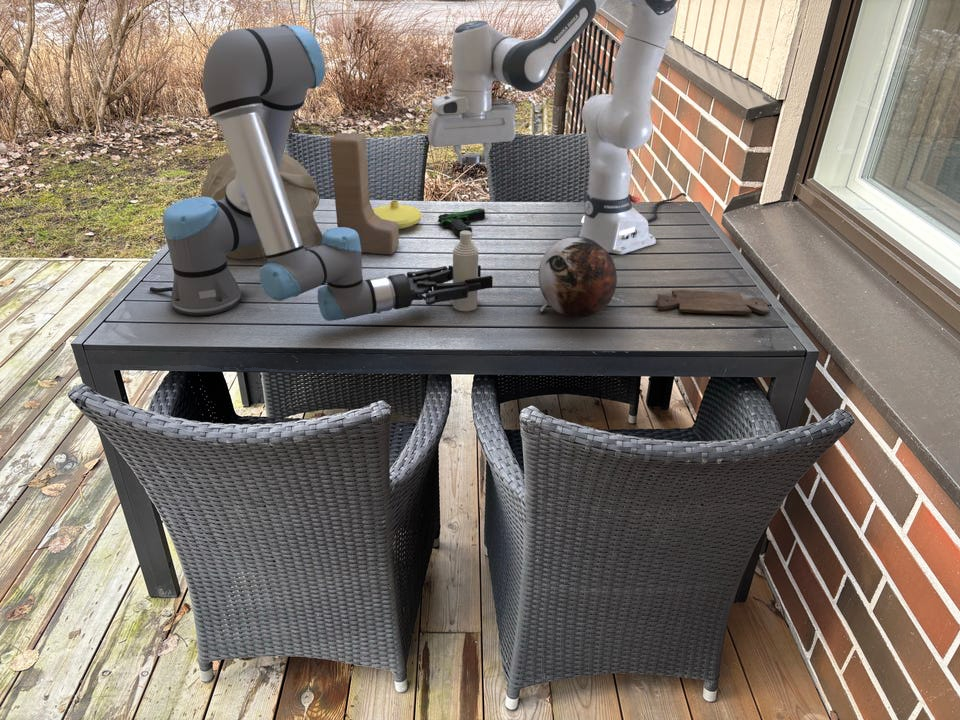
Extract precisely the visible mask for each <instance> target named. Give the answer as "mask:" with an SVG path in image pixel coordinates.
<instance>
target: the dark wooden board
mask: <svg viewBox="0 0 960 720" xmlns="http://www.w3.org/2000/svg"><path fill="white" fill-rule="evenodd" d="M671 295H672V296H669V295H666V294H661V293H660V294H659V293H658V294H657V298H656V299H657V300H656V302H657V310H658V311H667V310H671V309H675V308H678V312H681V313H694V314H718V315H719V314H721V315H740V316H741V315H752V312H754V313H756V314H760V315H769V314H771V310H770V308H769V307H768V305H767V303H766V301H765V299H764V298H762V297H749V298H745V299H743V296H742V293H741V292H739V291H738V292H736V291H735V292H734V291H709V290H689V289H687V290H686V289H672V290H671Z"/></svg>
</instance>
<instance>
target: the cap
mask: <svg viewBox="0 0 960 720" xmlns="http://www.w3.org/2000/svg"><path fill="white" fill-rule="evenodd" d="M480 154H481V153H477V152H468V153H464V155H465V156H466V165H467V164H469V165H478V164H480V162H481V157H480Z"/></svg>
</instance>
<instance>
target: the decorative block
mask: <svg viewBox="0 0 960 720" xmlns="http://www.w3.org/2000/svg"><path fill="white" fill-rule="evenodd" d="M366 139H367V138H366V135H365V134H364V133H353V132H352V133H351V132H350V133H348V132H347V133H346V132H338V133H336V134H335V135H333V137H331V138H330V139H329V148H330V151H329V152H330V161H331V170H332V171H331V172H332V181H333V183H332V184H333V193H334V203H335V204H334V205H335V215H336V224H337V225H336V226H337V227H346V228H350V229H353V230H355V231H356V232H357V233H358V235H359V240H360V245H361V250H362V251H361V254H362V253H365V254H377V255H379V254H380V255H394V253H395V252H396V250H397V248H398V247H399V245H400V237H399V229H398V223H397V222H394V221H389V220H384V219H381V218H380V217H379V216H377V215H376V214H375V213H374V211H373V209H374V208H373V207H372V204H371V201H370V200H371V198H370V197H371V196H370V184H369V169H368V167H369V166H368V155H367V154H368V153H367V140H366Z"/></svg>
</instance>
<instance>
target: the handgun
mask: <svg viewBox="0 0 960 720" xmlns="http://www.w3.org/2000/svg"><path fill="white" fill-rule="evenodd" d="M485 218H486V210H485V209H484V208H480V207H479V208H475V209H469V210H464V211H460V212H459V211H458V212H452V213H451V212H450V213H441V214H439V215H438V219H437V223H439V224H440V227H441V228H448V229H450V230H452V232H453V233H454V235H455V236H456V237H458V238H460V232H461V231H470V232H471V233H472V234H473V229H472V227H471V226H470V225H471V222H473V221H476V220H478V221H479V220H484V219H485Z"/></svg>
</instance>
